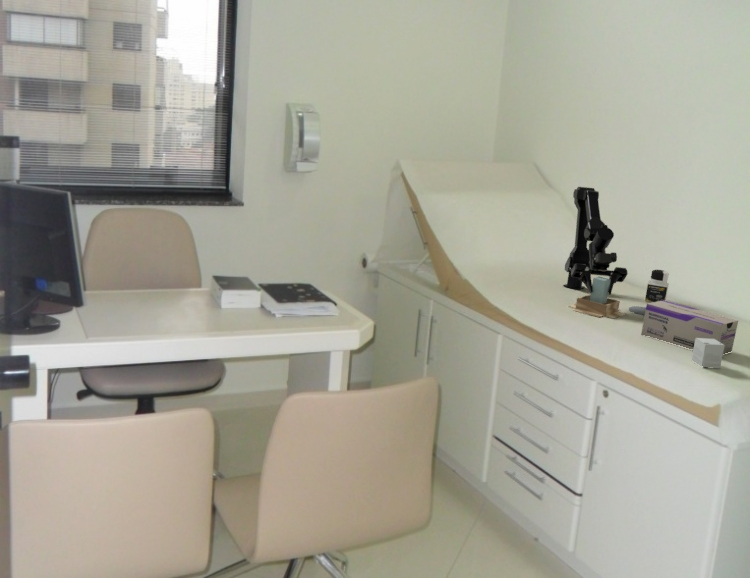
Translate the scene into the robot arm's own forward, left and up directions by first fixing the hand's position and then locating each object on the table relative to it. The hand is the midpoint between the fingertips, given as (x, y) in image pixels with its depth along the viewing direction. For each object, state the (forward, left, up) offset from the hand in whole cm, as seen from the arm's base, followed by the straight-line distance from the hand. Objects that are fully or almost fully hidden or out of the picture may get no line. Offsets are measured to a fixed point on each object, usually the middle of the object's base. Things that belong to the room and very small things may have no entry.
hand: (600, 293), depth 289 cm
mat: (-16, +10, -7) cm, 20 cm away
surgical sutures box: (+11, +35, -7) cm, 37 cm away
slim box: (-1, -1, -7) cm, 7 cm away
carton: (-1, -1, -7) cm, 7 cm away
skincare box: (+28, +47, -7) cm, 55 cm away
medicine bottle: (-37, +6, -7) cm, 38 cm away
